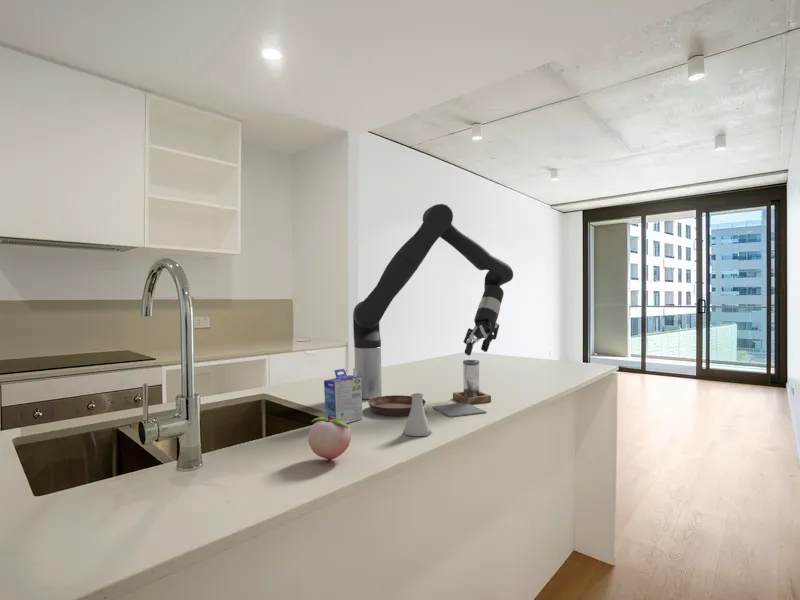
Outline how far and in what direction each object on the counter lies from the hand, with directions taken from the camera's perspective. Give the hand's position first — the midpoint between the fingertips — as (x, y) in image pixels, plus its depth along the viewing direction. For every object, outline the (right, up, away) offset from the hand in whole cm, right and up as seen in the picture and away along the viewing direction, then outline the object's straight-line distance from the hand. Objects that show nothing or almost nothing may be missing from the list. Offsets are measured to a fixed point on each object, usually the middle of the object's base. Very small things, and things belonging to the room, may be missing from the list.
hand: (475, 352), depth 155 cm
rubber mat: (-8, -16, -15) cm, 23 cm away
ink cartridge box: (-41, -17, -25) cm, 51 cm away
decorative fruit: (-41, -17, -56) cm, 71 cm away
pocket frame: (-2, -15, -2) cm, 16 cm away
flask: (-21, -17, -37) cm, 46 cm away
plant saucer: (-26, -17, -14) cm, 34 cm away
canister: (-2, -16, -2) cm, 16 cm away
